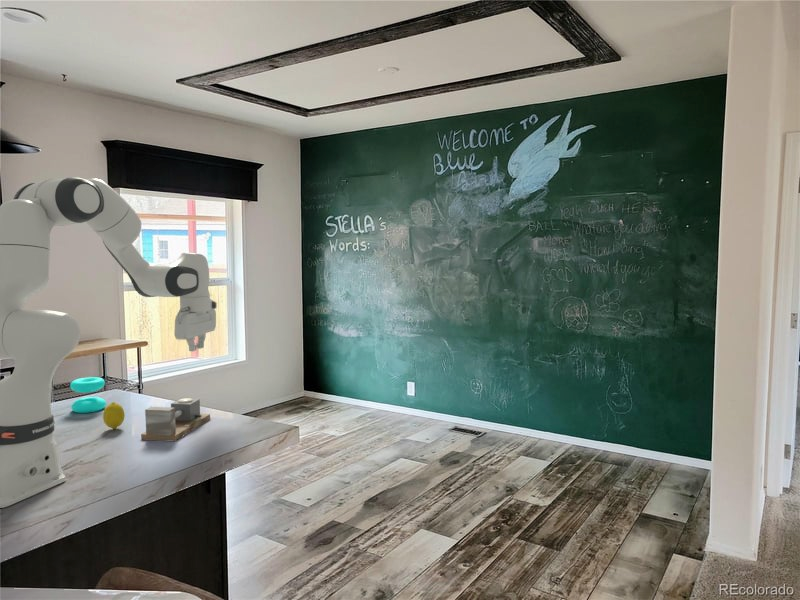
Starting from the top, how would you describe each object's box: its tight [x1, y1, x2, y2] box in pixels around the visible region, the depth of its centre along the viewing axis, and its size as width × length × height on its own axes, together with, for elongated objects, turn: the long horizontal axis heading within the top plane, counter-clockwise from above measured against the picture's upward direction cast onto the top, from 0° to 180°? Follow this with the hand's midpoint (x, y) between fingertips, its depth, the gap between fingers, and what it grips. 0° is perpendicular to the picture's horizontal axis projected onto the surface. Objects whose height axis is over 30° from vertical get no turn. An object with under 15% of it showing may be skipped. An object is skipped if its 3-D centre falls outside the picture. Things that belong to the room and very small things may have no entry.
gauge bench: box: [140, 406, 211, 442], centre depth 170 cm, size 21×10×8 cm, turn 172°
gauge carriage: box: [170, 397, 202, 421], centre depth 173 cm, size 9×8×5 cm
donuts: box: [69, 376, 107, 414], centre depth 190 cm, size 10×10×10 cm
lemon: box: [102, 401, 125, 430], centre depth 169 cm, size 6×6×8 cm
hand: (196, 349), depth 181 cm, fingers open, 3 cm apart
